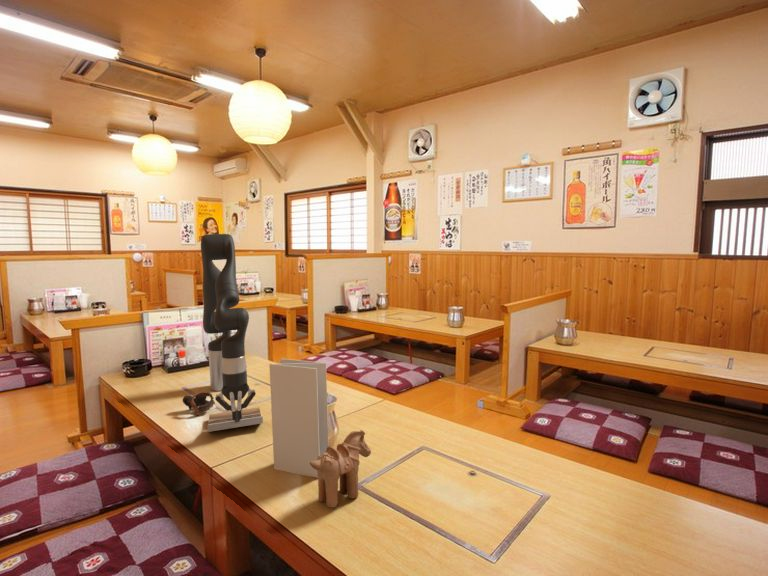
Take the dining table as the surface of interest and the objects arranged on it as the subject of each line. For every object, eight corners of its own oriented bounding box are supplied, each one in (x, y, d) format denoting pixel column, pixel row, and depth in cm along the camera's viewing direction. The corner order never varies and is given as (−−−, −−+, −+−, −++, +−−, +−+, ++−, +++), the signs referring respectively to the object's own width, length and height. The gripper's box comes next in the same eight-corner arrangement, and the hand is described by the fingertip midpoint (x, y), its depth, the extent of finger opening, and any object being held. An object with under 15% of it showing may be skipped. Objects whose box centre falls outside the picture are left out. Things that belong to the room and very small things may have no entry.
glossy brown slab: (209, 420, 149) (209, 413, 149) (259, 412, 155) (259, 406, 155) (209, 429, 142) (208, 422, 142) (261, 420, 148) (260, 414, 148)
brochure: (329, 467, 117) (326, 362, 114) (320, 478, 112) (316, 368, 109) (285, 459, 122) (280, 358, 119) (274, 469, 117) (269, 364, 113)
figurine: (379, 487, 108) (378, 431, 106) (321, 517, 96) (319, 455, 94) (361, 475, 113) (360, 422, 111) (304, 503, 102) (302, 444, 100)
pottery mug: (218, 405, 163) (219, 391, 159) (208, 425, 156) (209, 411, 151) (187, 399, 162) (187, 384, 158) (175, 418, 155) (175, 404, 150)
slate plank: (208, 430, 141) (208, 424, 141) (261, 422, 147) (261, 416, 147) (207, 431, 134) (207, 425, 135) (262, 423, 140) (262, 416, 141)
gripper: (254, 364, 142) (257, 413, 144) (212, 368, 137) (215, 419, 139) (256, 370, 135) (259, 422, 137) (211, 375, 131) (215, 429, 132)
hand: (237, 421), depth 138 cm, fingers closed
